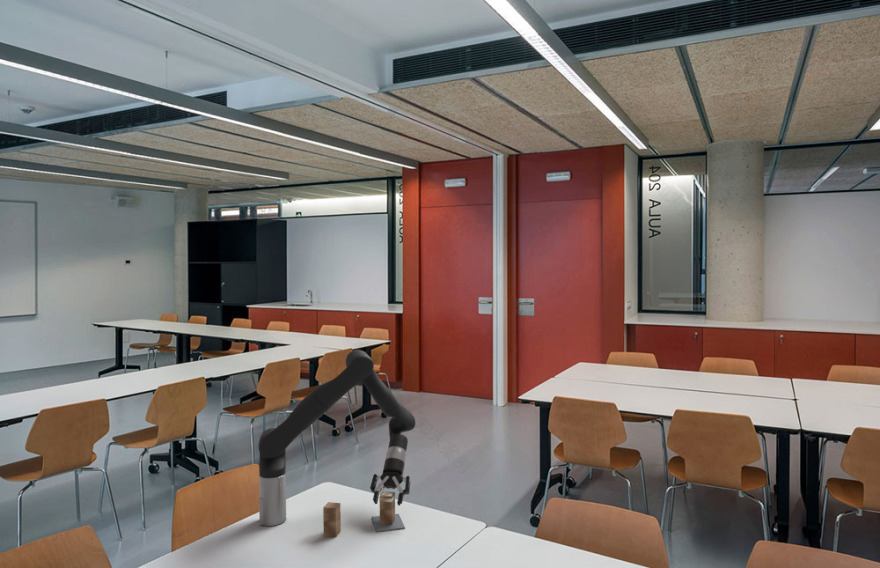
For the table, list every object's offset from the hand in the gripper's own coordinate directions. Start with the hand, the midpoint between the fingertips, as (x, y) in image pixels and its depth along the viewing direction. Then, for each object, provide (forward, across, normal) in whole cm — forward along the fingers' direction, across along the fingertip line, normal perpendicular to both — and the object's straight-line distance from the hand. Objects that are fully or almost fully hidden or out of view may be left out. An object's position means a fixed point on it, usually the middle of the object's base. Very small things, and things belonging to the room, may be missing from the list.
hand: (387, 503), depth 206 cm
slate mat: (+4, 0, +6) cm, 8 cm away
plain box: (+12, -17, -2) cm, 21 cm away
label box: (+4, 0, +6) cm, 7 cm away
